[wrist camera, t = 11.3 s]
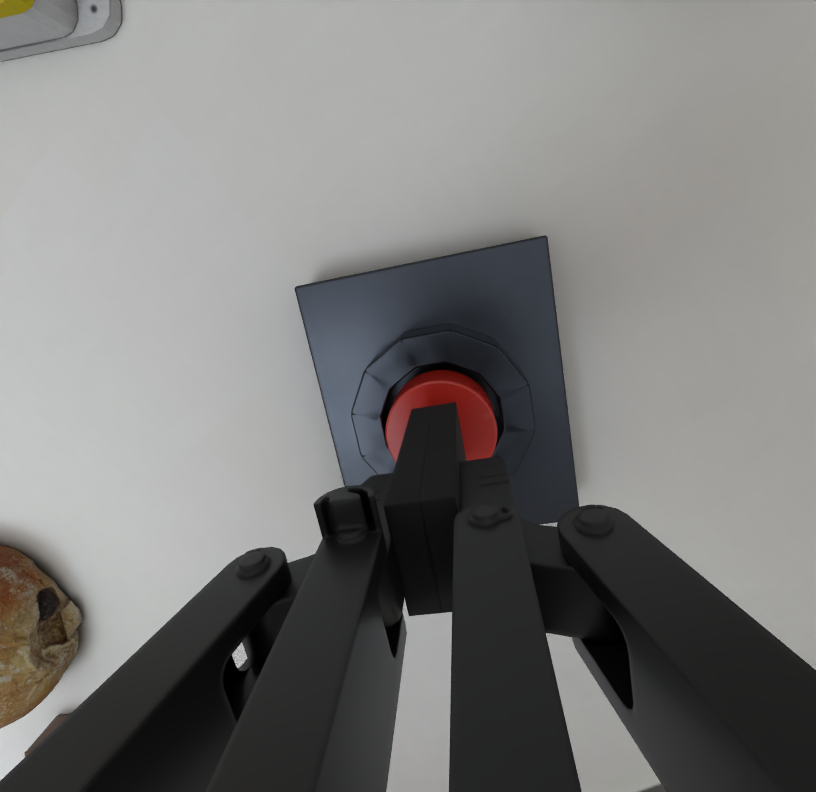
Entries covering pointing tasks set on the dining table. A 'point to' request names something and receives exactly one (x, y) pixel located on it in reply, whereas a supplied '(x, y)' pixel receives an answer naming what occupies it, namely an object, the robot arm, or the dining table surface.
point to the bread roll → (31, 635)
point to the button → (442, 390)
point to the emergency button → (54, 25)
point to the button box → (449, 360)
